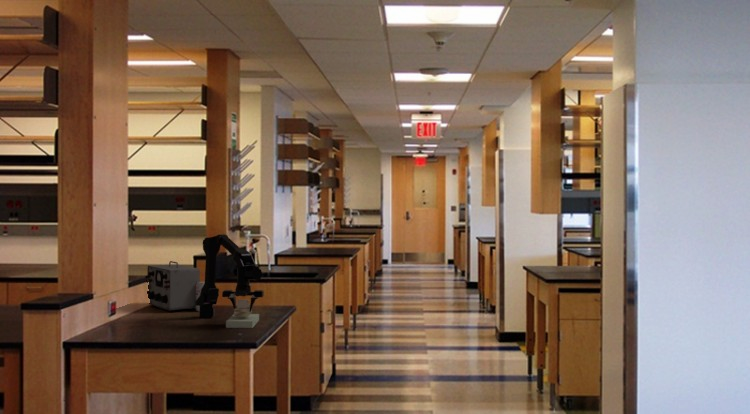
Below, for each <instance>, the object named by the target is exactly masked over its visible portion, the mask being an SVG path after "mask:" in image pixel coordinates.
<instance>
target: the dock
mask: <svg viewBox="0 0 750 414" xmlns="http://www.w3.org/2000/svg"><path fill="white" fill-rule="evenodd" d="M259 321H260V314H259V313H250V315H249V316H234V314H232V315H231V316H230V317H229V318H228V319H227V320H225V328H226V329H231V328H232V329H252V328H254V327H255V326H256V324H257V323H258V322H259Z"/></svg>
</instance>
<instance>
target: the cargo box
mask: <svg viewBox="0 0 750 414" xmlns="http://www.w3.org/2000/svg"><path fill="white" fill-rule="evenodd" d="M249 301H250V299H238V300H237V307H238V308H240V309H247V308H248V307H249V306H250V303H249Z"/></svg>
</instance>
